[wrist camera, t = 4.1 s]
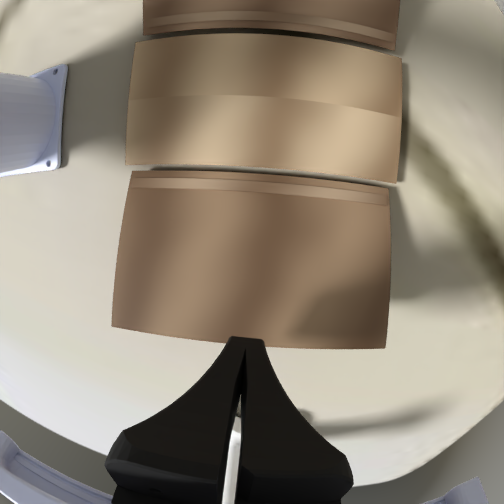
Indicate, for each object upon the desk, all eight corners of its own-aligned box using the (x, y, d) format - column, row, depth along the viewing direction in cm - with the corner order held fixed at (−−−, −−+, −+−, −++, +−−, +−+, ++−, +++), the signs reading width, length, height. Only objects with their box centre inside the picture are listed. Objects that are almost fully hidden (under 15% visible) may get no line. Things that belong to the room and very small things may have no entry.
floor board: (132, 163, 16) (125, 165, 15) (141, 47, 14) (135, 42, 13) (389, 181, 16) (396, 183, 15) (395, 62, 13) (401, 58, 12)
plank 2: (119, 324, 15) (110, 326, 14) (138, 177, 16) (131, 170, 15) (378, 345, 15) (386, 348, 14) (382, 194, 16) (389, 188, 15)
